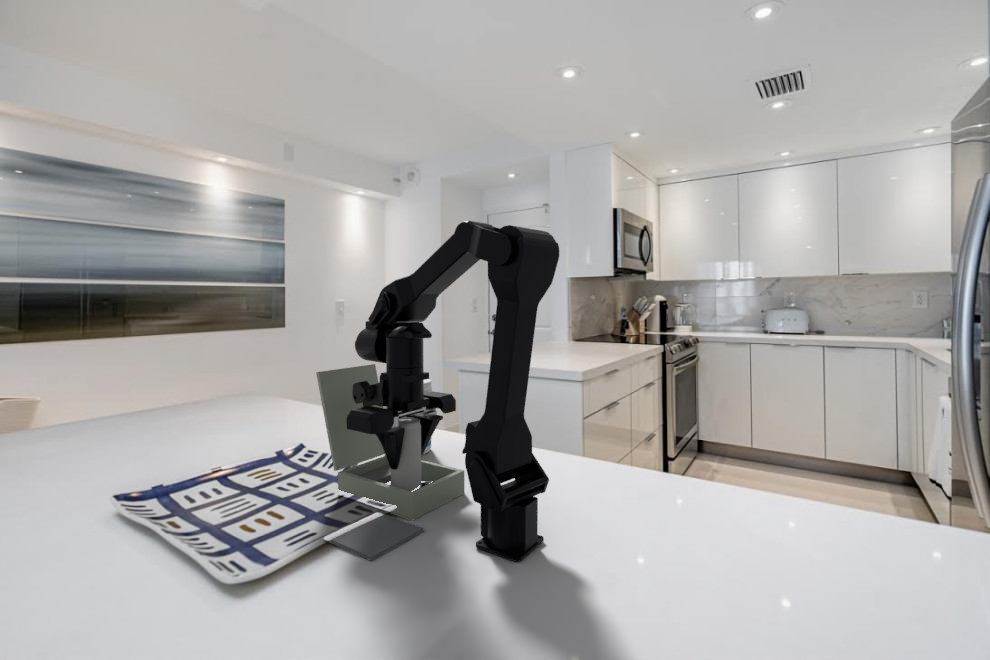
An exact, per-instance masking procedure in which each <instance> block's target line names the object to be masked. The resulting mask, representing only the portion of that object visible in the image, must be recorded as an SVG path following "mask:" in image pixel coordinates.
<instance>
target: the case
mask: <svg viewBox="0 0 990 660" xmlns="http://www.w3.org/2000/svg"><path fill="white" fill-rule="evenodd" d="M389 481H391V468H390V465H389V463H388V460H387V457H386V455H384V456H383V455H382V456H381V457H380V456H379V457H376V458H375V459H371V460H370V461H366V462H362V463H359V464H358V466H355V467H352V468H349V467H348V468H347V469H346V468H345V469H344V470H343V469H342V470H340V471H338V472H337V490H338V489H339V490H341V491H344V492H347V493H351V494H354V495H358V496H361V497H366V498H369V499H373V500H375V501H379V502H383V503H386V504H392V505H396V506H397V508H396V509H395V510H394V511H393V512H391V513H390V514H391V515H394V516H397V517H401V518H403V519H406V520H409V521H414V520H416V519H418V518H420V517H422V516H424V515H426V514H428V513H429V512H432V511H433V510H435V509H437V508H439V507H441V506H442V505H444V504H446V503H449V502H450V501H452V500H455V498H458V497H460V496H462V495H463V494H465V470H463V469H460V468H456V467H452V466H448V465H443V464H441V463H440V464H439V463H436V462H431V461H427V460H422V459H421V481H433V482H432V483H430V484H428V485H426V484H425V485H423V486H421V488H419V489H417V490H415V491H413V492H411V491H407V490H404V489H401V488H397V487H394V486H391V485H387V484H385V483H387V482H389Z"/></svg>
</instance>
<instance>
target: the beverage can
mask: <svg viewBox="0 0 990 660" xmlns="http://www.w3.org/2000/svg"><path fill="white" fill-rule="evenodd" d="M398 420H399V427H402V428H405V432H404V438H403V444H402V449H401V455H400V461H399V464H398V468H397V469H396V470H394V469H391V486H394V487H397V488H401V489H404V490H407V491H412V490H414V489H415V488H417V487H418V486H419V485H420V484H421V485H422V483H421V460H422V457H421V424H420V420H419V419H417V418H399V419H398Z"/></svg>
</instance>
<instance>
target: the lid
mask: <svg viewBox="0 0 990 660" xmlns="http://www.w3.org/2000/svg"><path fill="white" fill-rule="evenodd" d="M378 377H379V376H378V372H377V366H376V364H375V363H373V364H367V365H358V366H352V367H351V366H350V367H343V368H337V369H336V368H335V369H329V370H322V371H317V372H316V379H317V385H318V390H319V395H320V401H321V406H322V411H323V416H324V423H325V428H326V434H327V437H328V443H329V444H328V445H329V449H330V454H331V460H332V465H333V472H337V471H339V470H340V471H341V470H343V469H346V468H349V467H350V466H352V465H355V464H358V465H359V464H362V463H364V462H365V461H366V462H367V461H368V460H373V459H374V458H375V459H376V458H379V457H380V456H381V457H382V456H383V455H384V456H385V452H384V450H383V447H382V445H381V443H380V441H379V439H378V437H377V436H376V435H375V434H367V433H363V432H358V431H354V430H349V429H347V415H348V413H349V412H350V411H351V410H353V409H357V408H361V407H363V403H358V404H356V403H355V402H354V399H353V395H352V393H353V384H355V383H357V382H363V381H368V383H369V384H370V385H373V384H377V383H379V382H380V380H379V378H378ZM373 407H379V408H384V406H383V407H382V406H377V405H373Z"/></svg>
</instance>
